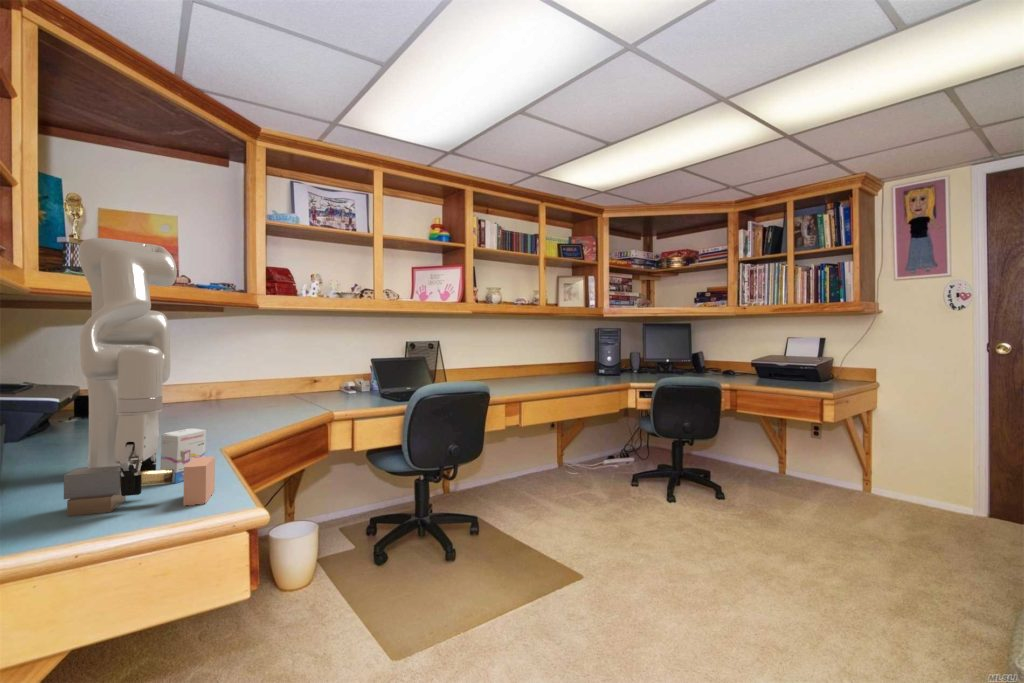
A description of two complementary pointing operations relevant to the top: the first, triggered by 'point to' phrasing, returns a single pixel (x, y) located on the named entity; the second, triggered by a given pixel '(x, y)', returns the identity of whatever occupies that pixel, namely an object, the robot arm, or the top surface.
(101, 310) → the robot arm
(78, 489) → the grey block
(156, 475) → the tube
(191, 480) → the socket
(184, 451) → the ink box
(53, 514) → the top surface
